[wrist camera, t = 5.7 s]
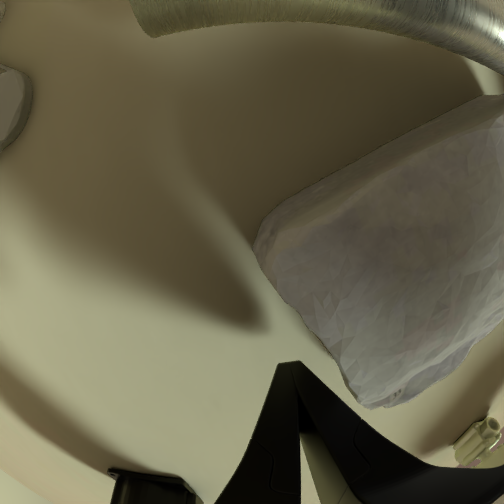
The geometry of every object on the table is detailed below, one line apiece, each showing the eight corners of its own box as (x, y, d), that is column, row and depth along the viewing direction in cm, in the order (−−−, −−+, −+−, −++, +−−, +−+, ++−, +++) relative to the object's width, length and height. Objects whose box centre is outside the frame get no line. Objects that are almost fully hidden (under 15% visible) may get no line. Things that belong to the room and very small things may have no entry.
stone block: (498, 244, 11) (477, 72, 6) (549, 292, 7) (568, 92, 2) (335, 355, 13) (227, 202, 9) (365, 433, 9) (239, 310, 4)
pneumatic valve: (424, 467, 18) (455, 544, 6) (495, 392, 14) (552, 479, 3) (453, 455, 18) (485, 522, 7) (517, 384, 14) (568, 455, 3)
